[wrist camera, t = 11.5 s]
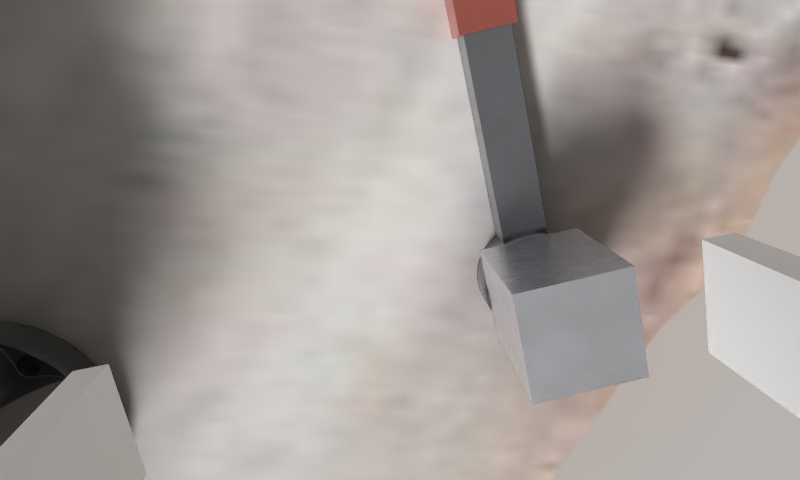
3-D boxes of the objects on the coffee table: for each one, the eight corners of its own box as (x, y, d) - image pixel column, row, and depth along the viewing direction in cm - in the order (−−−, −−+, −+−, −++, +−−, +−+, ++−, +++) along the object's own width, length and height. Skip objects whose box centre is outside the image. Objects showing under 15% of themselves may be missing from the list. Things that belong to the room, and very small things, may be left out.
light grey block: (479, 250, 37) (512, 294, 29) (576, 227, 37) (634, 265, 29) (497, 339, 38) (532, 404, 30) (589, 317, 38) (648, 377, 30)
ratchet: (486, 326, 41) (514, 378, 34) (397, -100, 34) (408, -150, 27) (578, 304, 41) (625, 351, 34) (507, -126, 34) (547, -183, 27)
